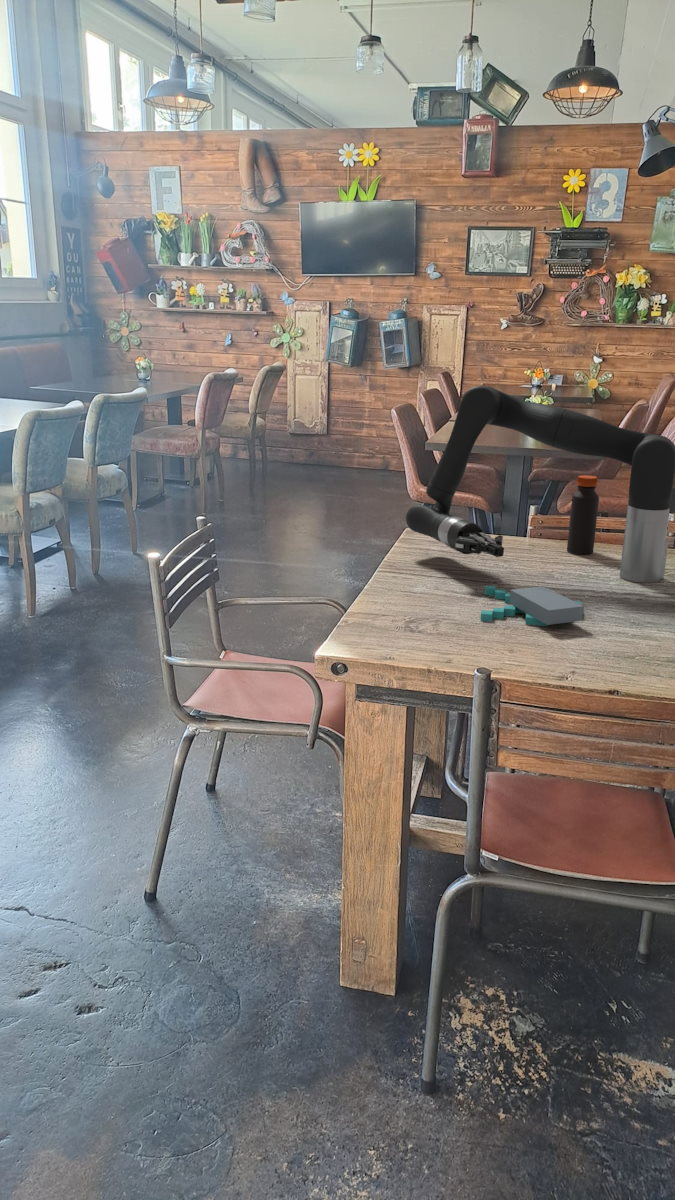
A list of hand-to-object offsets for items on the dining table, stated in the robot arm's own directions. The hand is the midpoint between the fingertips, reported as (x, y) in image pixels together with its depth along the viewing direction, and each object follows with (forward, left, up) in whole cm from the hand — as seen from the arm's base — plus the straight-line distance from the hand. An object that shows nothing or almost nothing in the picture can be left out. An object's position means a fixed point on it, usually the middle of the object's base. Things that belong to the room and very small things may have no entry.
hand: (500, 552), depth 189 cm
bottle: (-40, -23, -9) cm, 47 cm away
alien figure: (0, +13, -10) cm, 17 cm away
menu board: (+1, +12, -6) cm, 14 cm away
